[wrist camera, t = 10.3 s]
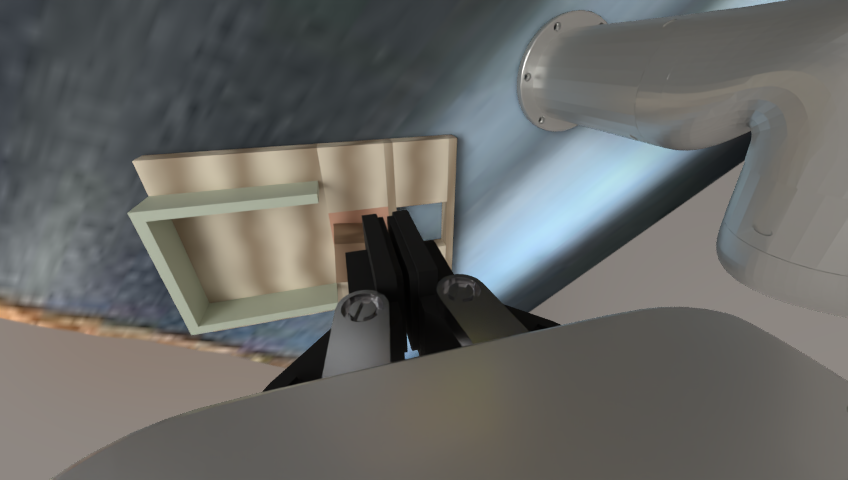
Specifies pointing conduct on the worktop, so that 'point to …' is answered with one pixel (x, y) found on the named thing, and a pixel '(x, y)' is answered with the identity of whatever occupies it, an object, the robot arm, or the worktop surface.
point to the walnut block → (346, 245)
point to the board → (299, 206)
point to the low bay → (181, 276)
